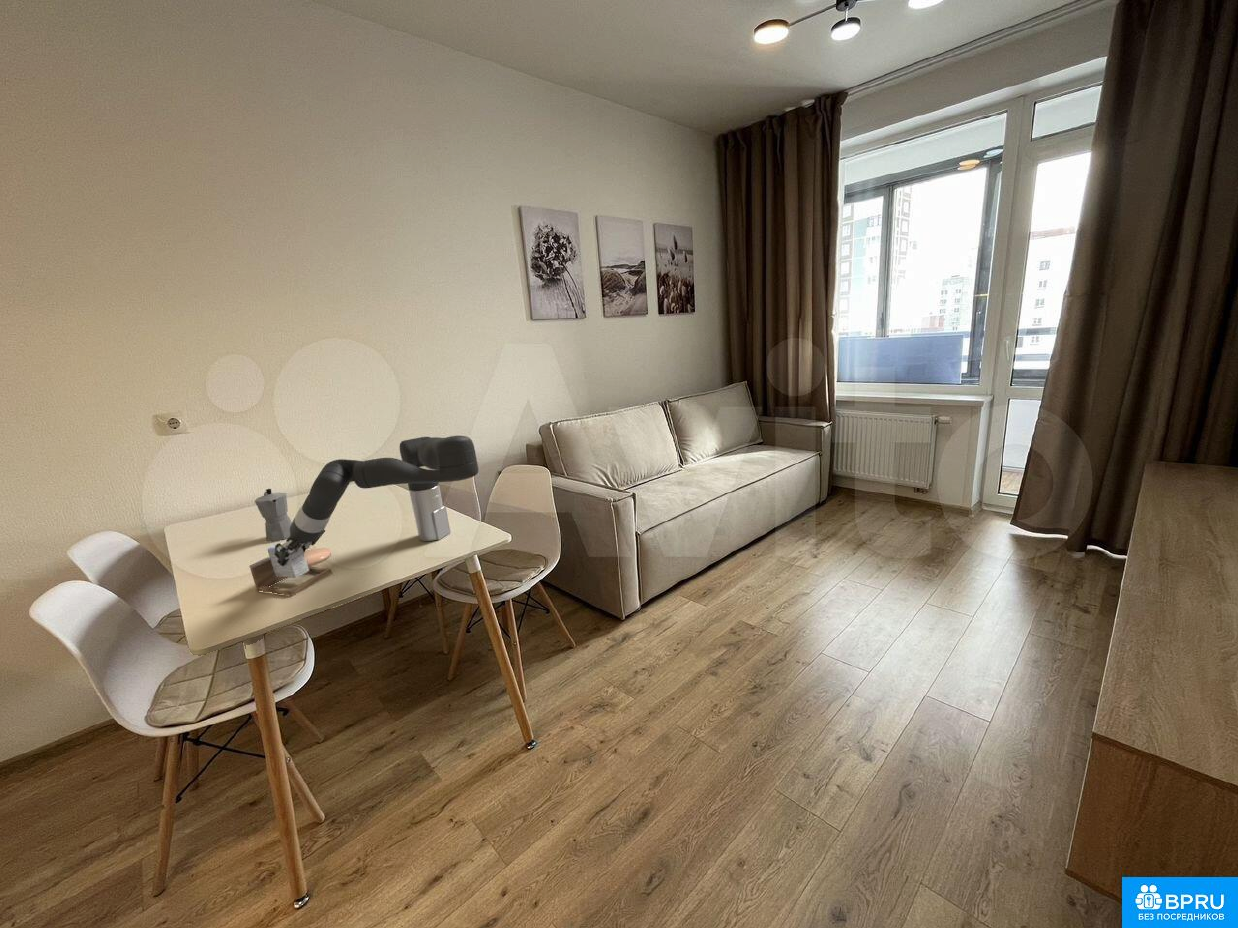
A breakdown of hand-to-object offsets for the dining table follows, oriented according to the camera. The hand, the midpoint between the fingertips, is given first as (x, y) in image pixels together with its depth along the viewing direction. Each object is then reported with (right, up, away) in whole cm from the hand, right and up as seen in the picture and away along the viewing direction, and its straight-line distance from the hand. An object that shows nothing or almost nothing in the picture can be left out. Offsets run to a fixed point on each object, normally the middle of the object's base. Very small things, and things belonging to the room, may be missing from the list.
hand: (289, 559), depth 141 cm
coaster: (-5, -3, +18) cm, 19 cm away
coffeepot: (-29, +1, +40) cm, 50 cm away
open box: (0, -7, +3) cm, 8 cm away
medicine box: (0, -5, +2) cm, 5 cm away
